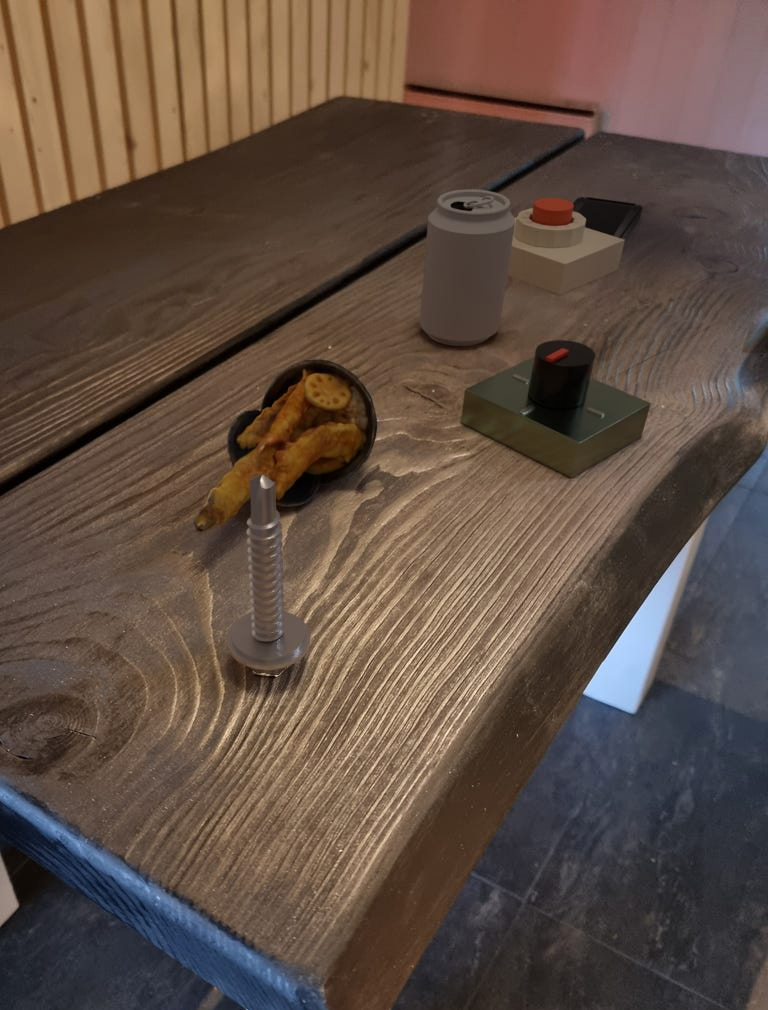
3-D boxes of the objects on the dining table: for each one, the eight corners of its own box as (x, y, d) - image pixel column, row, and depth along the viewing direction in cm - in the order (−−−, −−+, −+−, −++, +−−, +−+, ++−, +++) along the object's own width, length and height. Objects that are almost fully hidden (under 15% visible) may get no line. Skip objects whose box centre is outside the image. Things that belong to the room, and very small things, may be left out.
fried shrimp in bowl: (417, 393, 69) (351, 435, 53) (345, 512, 74) (266, 583, 59) (315, 327, 70) (221, 350, 54) (251, 450, 75) (148, 503, 59)
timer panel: (641, 437, 73) (651, 400, 71) (571, 478, 69) (579, 441, 66) (531, 387, 79) (537, 352, 77) (460, 422, 75) (464, 387, 73)
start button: (578, 222, 96) (581, 204, 94) (554, 231, 94) (557, 213, 93) (547, 212, 98) (550, 195, 97) (523, 221, 96) (526, 203, 95)
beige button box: (618, 270, 98) (629, 221, 95) (559, 296, 93) (568, 245, 90) (528, 240, 105) (536, 193, 101) (469, 262, 100) (475, 214, 97)
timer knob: (550, 376, 74) (558, 331, 72) (597, 395, 72) (608, 348, 69) (516, 394, 72) (524, 348, 69) (564, 415, 70) (574, 367, 67)
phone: (644, 204, 109) (615, 245, 100) (642, 214, 110) (613, 256, 100) (578, 195, 112) (543, 234, 102) (576, 205, 113) (542, 245, 103)
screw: (303, 696, 52) (220, 687, 53) (315, 639, 56) (237, 631, 57) (302, 505, 44) (203, 497, 44) (317, 452, 47) (225, 445, 48)
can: (411, 318, 90) (422, 186, 82) (487, 314, 90) (505, 183, 82) (426, 352, 84) (439, 214, 76) (507, 348, 85) (528, 210, 77)
